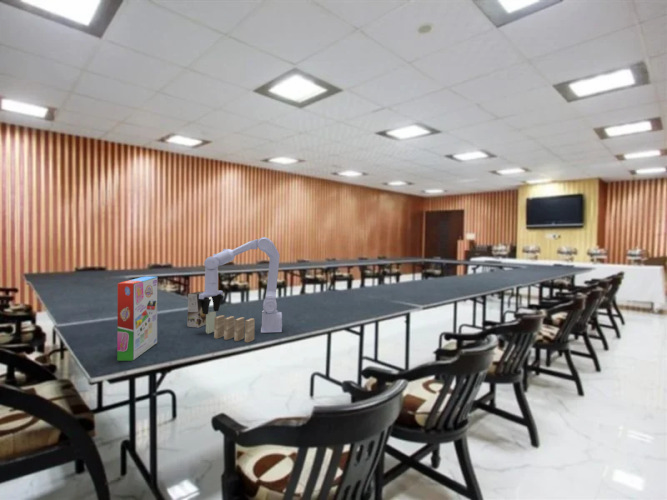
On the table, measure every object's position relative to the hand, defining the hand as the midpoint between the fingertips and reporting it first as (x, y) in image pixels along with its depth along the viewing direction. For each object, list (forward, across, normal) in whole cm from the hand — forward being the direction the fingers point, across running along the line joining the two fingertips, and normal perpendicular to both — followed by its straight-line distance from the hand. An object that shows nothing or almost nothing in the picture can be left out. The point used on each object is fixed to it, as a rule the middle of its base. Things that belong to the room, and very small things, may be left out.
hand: (210, 312), depth 163 cm
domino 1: (+9, 0, 0) cm, 9 cm away
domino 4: (+9, +5, +19) cm, 21 cm away
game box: (+9, +34, -6) cm, 36 cm away
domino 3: (+9, +5, +14) cm, 17 cm away
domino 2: (+9, +5, +9) cm, 14 cm away
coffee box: (+9, -8, -13) cm, 18 cm away
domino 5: (+9, +5, +24) cm, 26 cm away
